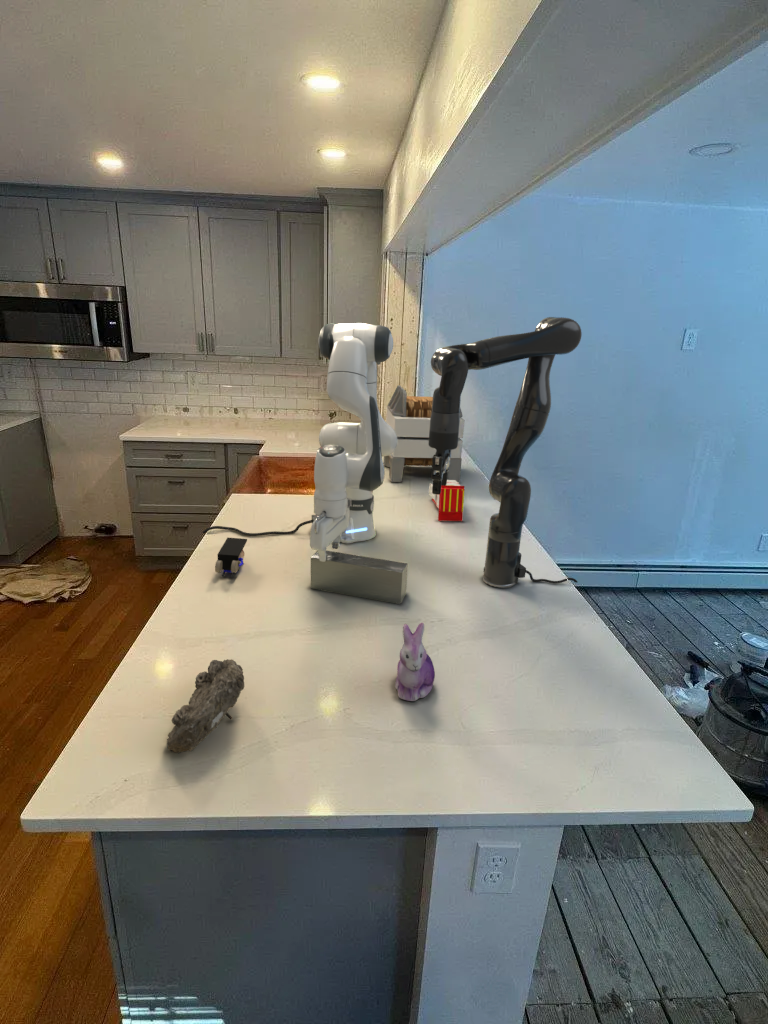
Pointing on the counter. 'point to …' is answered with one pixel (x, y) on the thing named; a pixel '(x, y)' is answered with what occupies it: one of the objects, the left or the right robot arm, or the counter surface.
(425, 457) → the transformer
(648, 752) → the counter surface
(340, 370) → the left robot arm
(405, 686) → the figurine
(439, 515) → the toy
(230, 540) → the figurine character
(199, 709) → the fossil
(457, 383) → the right robot arm
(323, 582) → the box
